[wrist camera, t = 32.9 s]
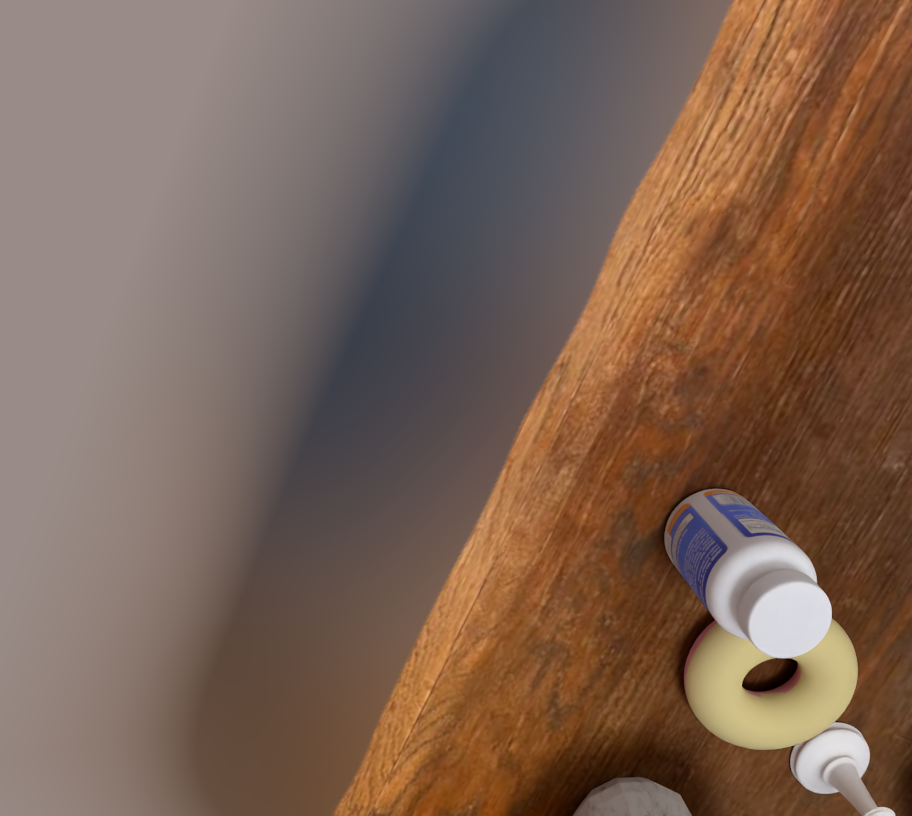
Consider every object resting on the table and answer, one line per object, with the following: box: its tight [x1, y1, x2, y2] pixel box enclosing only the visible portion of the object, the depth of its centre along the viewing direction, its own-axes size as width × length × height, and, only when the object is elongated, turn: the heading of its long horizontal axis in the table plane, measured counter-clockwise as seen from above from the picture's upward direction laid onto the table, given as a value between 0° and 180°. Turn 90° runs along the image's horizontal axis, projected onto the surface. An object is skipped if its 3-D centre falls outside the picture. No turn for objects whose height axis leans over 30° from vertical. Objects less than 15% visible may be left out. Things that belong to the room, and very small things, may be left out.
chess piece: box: [790, 722, 896, 816], centre depth 48 cm, size 5×5×10 cm
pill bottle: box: [664, 489, 832, 658], centre depth 43 cm, size 5×5×10 cm
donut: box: [684, 619, 858, 750], centre depth 49 cm, size 10×5×9 cm
